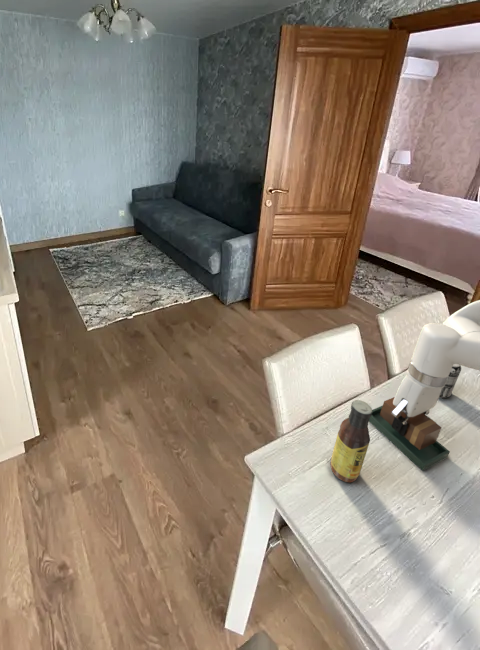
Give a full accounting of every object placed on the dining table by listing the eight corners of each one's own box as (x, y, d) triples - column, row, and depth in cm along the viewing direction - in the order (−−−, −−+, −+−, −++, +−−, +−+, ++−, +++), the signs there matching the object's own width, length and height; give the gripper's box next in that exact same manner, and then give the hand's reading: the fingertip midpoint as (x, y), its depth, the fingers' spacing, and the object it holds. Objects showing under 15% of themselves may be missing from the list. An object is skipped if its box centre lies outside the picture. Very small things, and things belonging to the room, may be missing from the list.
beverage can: (424, 379, 109) (435, 349, 104) (449, 389, 105) (462, 357, 101) (423, 392, 104) (435, 361, 99) (450, 403, 100) (463, 370, 96)
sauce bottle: (353, 490, 77) (373, 426, 70) (325, 471, 81) (341, 409, 74) (362, 469, 82) (382, 407, 74) (335, 452, 86) (351, 391, 78)
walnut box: (379, 415, 93) (383, 401, 91) (395, 408, 95) (399, 394, 93) (419, 450, 83) (425, 435, 81) (435, 442, 85) (442, 427, 84)
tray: (447, 457, 85) (450, 451, 84) (422, 470, 82) (425, 465, 81) (388, 407, 99) (390, 402, 98) (364, 417, 95) (366, 412, 95)
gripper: (435, 353, 88) (415, 406, 95) (387, 371, 82) (370, 425, 89) (467, 373, 82) (443, 428, 89) (418, 394, 76) (397, 451, 83)
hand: (407, 426), depth 89 cm, fingers closed on walnut box, 6 cm apart
